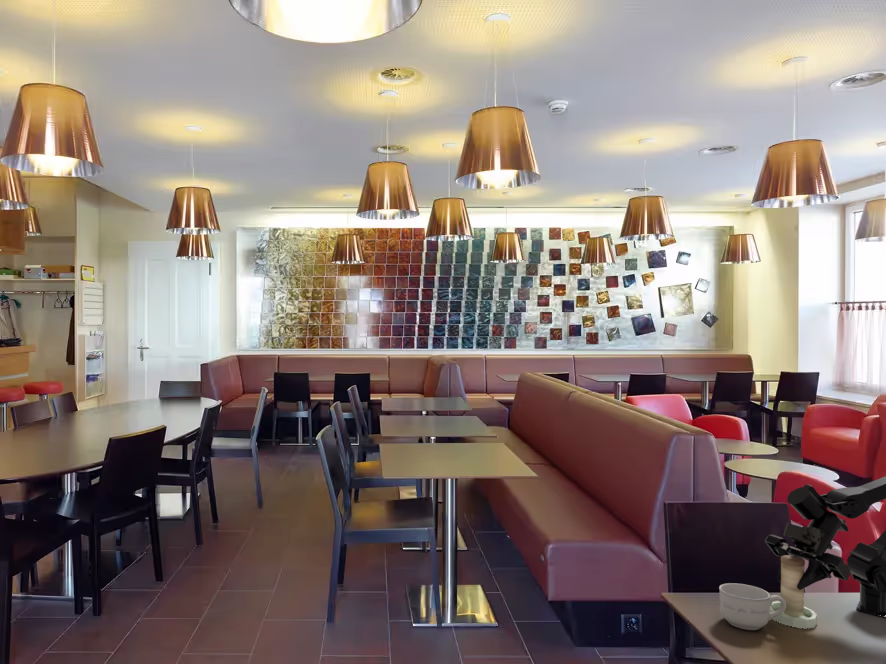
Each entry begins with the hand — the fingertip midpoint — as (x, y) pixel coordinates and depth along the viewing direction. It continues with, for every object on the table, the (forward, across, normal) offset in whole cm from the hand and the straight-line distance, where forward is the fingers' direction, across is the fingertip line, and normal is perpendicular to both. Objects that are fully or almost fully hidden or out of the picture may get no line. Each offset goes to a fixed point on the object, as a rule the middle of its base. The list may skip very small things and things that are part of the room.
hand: (788, 584), depth 146 cm
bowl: (+5, 0, +7) cm, 8 cm away
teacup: (+14, -1, -2) cm, 14 cm away
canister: (+4, 0, +6) cm, 7 cm away
